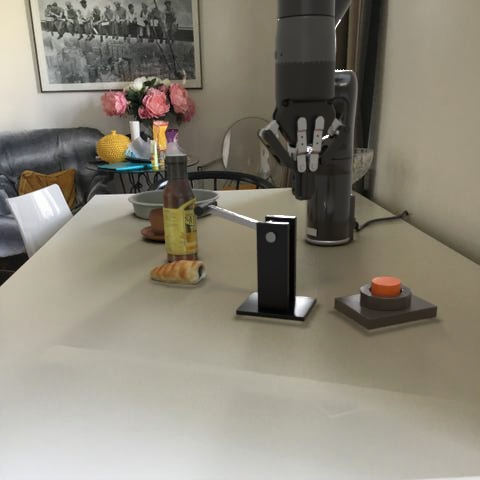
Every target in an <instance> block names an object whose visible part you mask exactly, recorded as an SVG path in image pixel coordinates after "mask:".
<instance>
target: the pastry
mask: <svg viewBox="0 0 480 480" xmlns="http://www.w3.org/2000/svg"><path fill="white" fill-rule="evenodd" d="M149 275H150V276H151V278H152V279H153V280H154V281H156V282H162V283H167V284H177V285H191V286H192V285H193V286H195V285H197V284H198V283H200V281H201V280H202V279H204V278H207V270H206V265H205V264H204V262H203V261H202V260H198V261H197V260H190V261H184V260H181V261H179V262H178V261H176V262H172V263H171V262H168V263H166V264H165V265H164V264H162V265H159V266H156V267H154V268H153V269H152V270H150V272H149Z"/></svg>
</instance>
